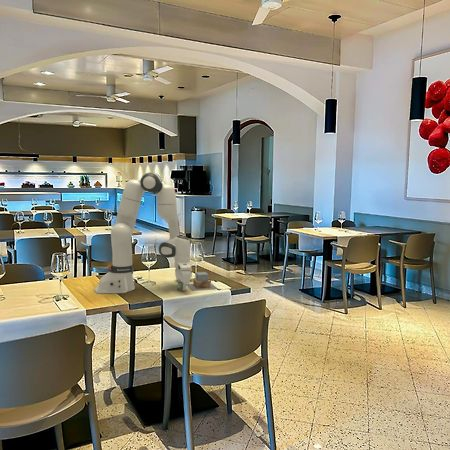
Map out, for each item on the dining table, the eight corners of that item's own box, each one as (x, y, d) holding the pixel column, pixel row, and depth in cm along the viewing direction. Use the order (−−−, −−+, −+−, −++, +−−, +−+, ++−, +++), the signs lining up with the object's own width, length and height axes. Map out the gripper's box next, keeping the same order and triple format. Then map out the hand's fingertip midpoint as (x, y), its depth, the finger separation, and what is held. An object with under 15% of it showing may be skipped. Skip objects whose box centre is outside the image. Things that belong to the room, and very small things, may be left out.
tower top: (198, 281, 252) (198, 274, 251) (195, 279, 257) (195, 272, 257) (208, 280, 254) (208, 274, 253) (205, 278, 259) (205, 271, 259)
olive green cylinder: (178, 292, 245) (178, 284, 244) (176, 290, 250) (176, 282, 249) (187, 292, 247) (187, 283, 246) (184, 289, 251) (185, 281, 251)
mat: (192, 292, 246) (192, 291, 246) (185, 285, 261) (185, 284, 261) (218, 290, 251) (218, 289, 251) (210, 283, 266) (210, 282, 266)
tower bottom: (196, 288, 251) (197, 282, 251) (193, 285, 259) (193, 278, 258) (210, 287, 254) (210, 281, 253) (206, 284, 261) (206, 278, 261)
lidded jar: (193, 280, 274) (193, 265, 273) (190, 284, 263) (190, 269, 262) (176, 279, 275) (177, 265, 274) (173, 283, 264) (173, 268, 263)
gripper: (172, 260, 255) (172, 283, 257) (181, 268, 236) (181, 292, 238) (183, 260, 257) (183, 283, 259) (192, 267, 238) (192, 292, 240)
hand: (182, 287), depth 248 cm, fingers open, 8 cm apart
